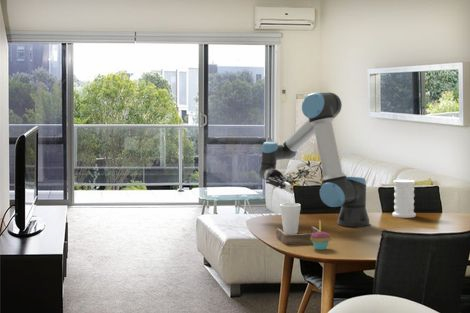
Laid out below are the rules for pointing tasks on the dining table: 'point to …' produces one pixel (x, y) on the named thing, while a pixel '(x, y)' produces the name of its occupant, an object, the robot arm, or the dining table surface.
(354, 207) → the robot arm
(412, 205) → the decorative container
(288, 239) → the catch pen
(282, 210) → the foam cup
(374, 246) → the dining table surface
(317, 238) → the cupcake
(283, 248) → the dining table surface
